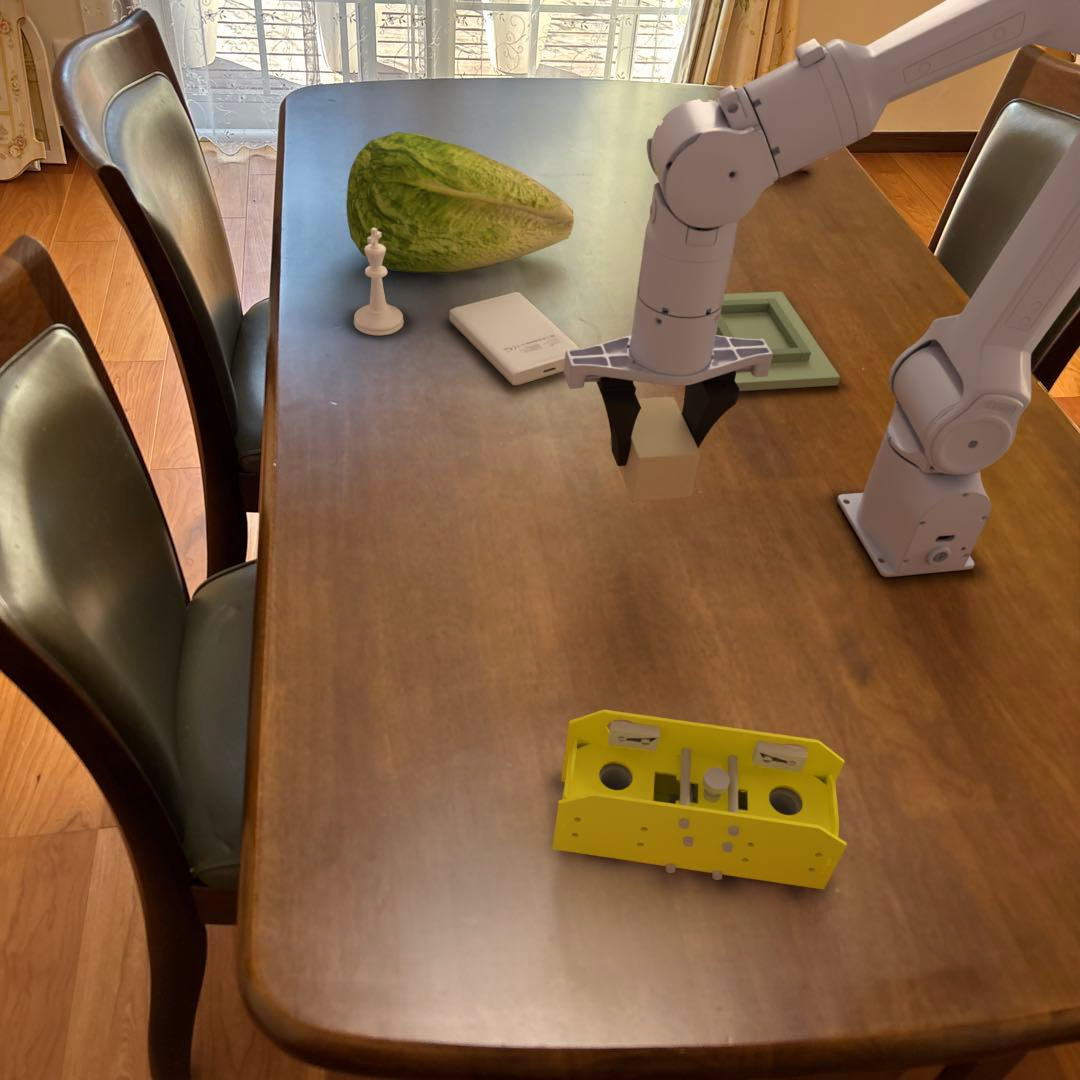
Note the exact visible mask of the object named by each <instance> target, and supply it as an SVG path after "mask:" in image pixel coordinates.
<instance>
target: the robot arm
mask: <svg viewBox="0 0 1080 1080" xmlns="http://www.w3.org/2000/svg"><path fill="white" fill-rule="evenodd" d="M1030 45H1031V46H1032V45H1035V46H1040V47H1044V48H1049V49H1051V50H1057V51H1061V52H1066V53H1070V54H1074V55H1079V56H1080V0H944V1H943V2H940V3H939V4H937V5H935V6H934V7H932V8H930V9H928V10H926V11H925V12H923V13H921V14H920V15H918V16H916V17H914V18H913V19H911V20H910V21H907V22H906V23H904V24H903V25H900V26H899V27H897V28H895V29H894V30H892V31H890V32H889V33H887V34H885V35H883V36H882V37H880V38H878V39H876V40H875V41H873V42H871V43H870V44H867V45H861V44H857V43H853V42H850V41H847V40H844V39H842V38H833V39H831V40H829V41H827V42H826V43H823V44H822V45H821V44H820V43H819V41H818V40H817V39H816V38H812V39H809V40H808V41H806V42H803V43H802V44H799V45H798V46H796V47H795V48H794V53H795V57H796V58H794V59H792V60H790V61H788V62H786V63H785V64H782V65H781V66H778V67H777V68H774V69H772V70H771V71H769V72H767V73H765V74H763V75H761V76H759V77H757V78H755V79H753V80H751V81H750V82H749V81H748V83H746V84H744V85H742V86H739V87H737V88H736V89H735V87H734V86H733V85H732V84H730V85H728V86H726V87H724V88H722V89H720V90H718V91H717V93H716V97H717V99H718V101H717V100H713V99H708V98H707V100H706V101H702V98H697V99H692V100H688V101H685V102H683V103H680V104H678V105H676V106H675V107H674V108H672V109H671V110H670V111H669V112H667V113H666V114H665V116H664V117H662V123H661V124H657V125H656V128H655V130H654V132H653V135H652V137H649V138H648V139H647V141H646V154H647V159H648V162H649V165H650V168H651V169H652V171H653V173H654V175H655V176H656V178H657V181H658V182H656V183H655V184H654V185H653V191H652V198H651V203H650V207H649V218H648V221H647V223H646V226H645V233H644V240H643V248H642V254H641V261H640V268H639V276H638V282H637V283H638V284H637V289H636V290H637V292H636V299H635V306H634V312H633V320H632V327H631V333H630V334H628V335H626V336H623V337H619V338H615V339H611V340H608V341H605V342H601V343H597V344H594V345H591V346H587V347H582V348H580V349H573V350H566V353H565V364H564V371H563V375H564V378H565V382H566V383H567V386H568V389H571V390H573V389H582V388H585V383H596V384H597V387H598V390H599V392H600V395H601V399H602V400H603V401H602V402H603V404H604V408H605V411H606V416H607V419H608V424H609V431H610V439H611V444H612V448H611V453H612V456H613V458H614V461H615V463H616V466H618V467H619V466H626V464H627V461H628V457H629V453H630V445H631V436H632V432H633V428H634V425H635V422H636V419H637V416H638V414H639V412H640V409H641V406H640V404H639V401H638V399H639V398H638V397H637V395H636V390H637V386H635V384H634V383H635V382H639V383H644V384H645V383H646V384H652V385H660V386H666V387H684V395H683V406H682V409H681V410H682V411H681V414H682V416H683V418H684V420H685V422H686V424H687V426H688V428H689V430H690V433H691V435H692V437H693V439H694V441H695V443H696V445H697V447H698V449H699V448H700V447H701V445H702V443H703V441H704V440H705V438H706V437H707V435H708V434H709V432H710V431H711V429H712V428H713V426H715V424H717V422H718V421H719V420H720V419H721V418H722V416H723V415H725V414H726V413H727V412H728V411H729V410H730V409H731V408H733V407H734V406H735V405H736V404H737V402H738V399H739V396H740V392H741V391H740V389H739V387H738V385H737V384H736V382H735V377H736V373H743V372H751V374H752V375H753V376H754V377H765V376H768V372H769V368H770V364H771V360H772V356H773V353H772V352H771V350H770V348H769V347H768V345H767V344H766V342H765V340H764V339H742V338H733V337H726V336H719V335H716V333H717V328H718V323H719V318H720V314H721V309H722V304H723V299H724V294H726V289H727V283H728V279H729V274H730V270H731V269H730V268H731V265H732V260H733V254H734V249H735V245H736V234H737V229H738V225H739V221H740V220H741V219H743V218H744V217H745V216H746V215H747V214H748V213H749V212H750V211H751V210H752V208H753V207H754V206H755V205H756V203H757V202H758V200H759V198H760V196H761V194H762V193H763V192H764V191H765V190H766V189H767V188H769V187H771V186H773V185H775V183H774V182H776V181H777V180H779V179H781V178H784V177H786V176H788V175H790V174H793V173H794V172H796V171H799V170H798V169H800V168H802V167H805V166H807V165H809V164H811V165H812V164H813V163H815V162H818V161H819V160H822V159H823V158H825V157H827V156H829V155H831V154H833V153H835V152H838V151H840V150H842V149H844V148H846V147H848V146H850V145H852V144H854V143H856V142H858V141H860V140H862V139H865V138H866V137H869V136H870V135H871V134H873V132H874V131H875V128H876V127H877V125H878V123H879V121H880V119H881V117H882V115H883V113H884V111H885V109H886V107H887V106H888V105H889V104H890V103H893V102H895V101H898V100H900V99H902V98H904V97H907V96H909V95H912V94H914V93H917V92H919V91H922V90H924V89H925V88H929V87H930V86H933V85H936V84H938V83H939V82H943V81H945V80H947V79H950V78H952V77H955V76H957V75H959V74H961V73H965V72H966V71H969V70H971V69H973V68H976V67H978V66H980V65H982V64H985V63H988V62H990V61H992V60H995V59H998V58H999V57H1002V56H1004V55H1007V54H1010V53H1011V52H1013V51H1016V50H1019V49H1021V48H1022V47H1026V46H1030ZM1079 288H1080V130H1079V131H1078V132H1077V134H1076V136H1075V137H1074V139H1073V140H1072V142H1071V144H1070V145H1069V146H1068V148H1067V150H1066V151H1065V152H1064V154H1063V155H1062V157H1061V159H1060V160H1059V162H1058V163H1057V165H1056V166H1055V168H1054V169H1053V170H1052V173H1051V174H1050V176H1049V177H1048V178H1047V181H1046V182H1045V184H1044V185H1043V186H1042V188H1041V190H1040V191H1039V193H1038V194H1037V196H1036V198H1035V199H1034V200H1033V202H1032V204H1031V205H1030V207H1029V208H1028V210H1027V211H1026V213H1025V214H1024V216H1023V217H1022V219H1021V220H1020V222H1019V223H1018V225H1017V227H1016V228H1015V230H1014V231H1013V233H1012V234H1011V236H1010V238H1009V239H1008V240H1007V242H1006V244H1005V245H1004V247H1003V248H1002V249H1001V251H1000V253H999V254H998V256H997V257H996V259H995V261H994V262H993V263H992V264H991V266H990V268H989V270H988V272H987V273H986V274H985V276H984V278H983V279H982V281H981V282H980V284H979V285H978V287H977V288H976V290H975V292H974V293H973V294H972V295H971V298H970V299H969V301H968V302H967V304H966V305H965V307H964V309H963V310H962V311H961V313H959V314H955V315H949V316H943V317H939V318H936V319H934V320H933V321H932V323H931V324H930V326H929V327H928V329H927V330H926V332H925V333H924V335H922V336H921V338H920V339H918V340H917V341H916V342H915V343H914V344H912V345H911V346H909V347H908V348H907V349H905V350H904V351H903V352H902V353H901V354H900V355H899V356H898V357H897V358H896V360H895V361H894V363H893V364H892V366H891V368H890V371H889V375H888V386H889V390H890V392H891V394H892V396H893V397H894V399H895V400H896V401H895V402H894V405H893V409H892V411H891V415H892V416H891V418H890V420H889V422H888V424H887V426H886V427H887V428H886V430H885V433H884V436H883V438H882V441H881V443H880V447H879V448H878V451H877V454H876V457H875V459H874V461H873V465H872V468H871V471H870V474H869V475H868V479H867V481H866V484H865V486H864V489H863V492H855V493H854V492H853V493H842V494H839V495H838V496H837V499H836V501H837V503H838V505H839V507H840V509H841V510H842V512H843V513H844V515H845V516H846V518H847V520H848V522H849V523H850V525H851V527H852V529H853V530H854V532H855V534H856V535H857V537H858V538H859V540H860V542H861V544H862V545H863V547H864V549H865V550H866V552H867V554H868V555H869V557H870V559H871V561H872V562H873V564H874V566H875V567H876V569H877V571H878V572H879V574H880V576H882V577H883V578H884V577H885V578H892V577H894V578H895V577H905V576H912V575H913V576H914V575H922V574H923V575H925V574H936V573H946V572H955V571H956V572H957V571H965V570H967V571H968V570H972V569H973V568H974V566H975V561H974V560H973V558H972V557H971V554H972V552H973V550H974V548H975V546H976V544H977V542H978V540H979V537H980V536H981V534H982V532H983V530H984V528H985V526H986V524H987V521H989V517H990V515H991V511H992V503H991V500H990V497H989V495H988V494H987V492H986V489H985V487H984V484H983V481H982V474H981V470H984V469H986V468H988V467H989V466H991V465H993V464H994V463H996V462H997V461H999V459H1001V458H1002V457H1003V456H1004V455H1005V454H1006V453H1007V451H1008V450H1009V449H1010V448H1011V446H1012V444H1013V443H1014V440H1015V437H1016V435H1017V434H1016V433H1017V427H1018V423H1019V420H1020V418H1021V416H1022V415H1023V413H1024V411H1025V410H1026V409H1027V408H1028V406H1029V405H1030V403H1031V402H1032V367H1031V366H1032V363H1031V362H1032V354H1033V352H1034V351H1035V349H1036V347H1037V346H1038V345H1039V343H1040V342H1041V341H1042V340H1043V338H1044V337H1045V335H1046V333H1048V331H1049V329H1050V328H1051V327H1052V326H1053V324H1054V322H1055V321H1056V320H1057V319H1058V317H1059V316H1060V314H1061V313H1062V312H1063V310H1064V309H1065V308H1066V306H1067V304H1069V302H1070V301H1071V299H1072V298H1073V296H1074V295H1075V294H1076V292H1077V291H1078V289H1079Z"/></svg>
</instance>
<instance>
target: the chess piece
mask: <svg viewBox="0 0 1080 1080" xmlns="http://www.w3.org/2000/svg"><path fill="white" fill-rule="evenodd" d="M380 237H382V233H381V232H379V231H377V228H374V227H373V228H372V229H371V236H370V237H368V238H367V242H368V243H371V244H368V245H367V246H366V247H365V248H364V251H365V254H366V256H367V257H366V259H367V261H368V264H369V265H368V266H366V267H365V271H364V274H365V275H366V276H367V277H369V278H371V279H370V283H371V284H370V294H369V295H370V296H369V303H368V304H366V305H364V306H361V307H360V308H358V309H357V310H356V311H355V313H354V316H353V317H354V318H353V325H354V327H355V329H357V331H359V332H361V333H363V334H366V335H370V336H387V335H391V334H394V333H396V332H398V331H399V330H401V329H402V328H403V326H404V323H405V320H404V315H403V312H402V311H401V310H400V309H399V308H397V307H396V306H394V305H391V304H388V303H387V301H386V296H385V290H384V285H383V284H384V283H383V278H384V277H386V276H387V275H388V270H387V269H388V268H386V267H384V266H382V262H383V258H384V255H385V252H386V248H385V247H384V246H383V245H382V244H378V239H379V238H380Z"/></svg>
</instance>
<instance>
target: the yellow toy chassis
mask: <svg viewBox="0 0 1080 1080" xmlns="http://www.w3.org/2000/svg"><path fill="white" fill-rule="evenodd" d="M621 720H622V721H621ZM624 720H625V721H624ZM609 724H610V726H609V727H610V728H609V727H608V725H609ZM565 743H566V744H565V751H564V757H563V764H562V772H561V779H560V782H562V783H564V788H563V791H562V792H563V793H562V799H559V800H558V802H557V803H558V804H557V811H556V819H555V826H554V833H553V840H552V841H553V842H552V847H551V849H552V850H555V851H562V852H569V853H574V854H575V853H577V854H582V855H589V856H595V857H603V858H609V859H615V860H623V861H629V862H637V863H643V864H649V865H656V866H664V867H665V871H666V872H667V873H669V874H674V873H676V869H683V870H688V871H689V870H691V871H697V872H702V873H703V872H704V873H709V874H712V876H711V877H712V879H713V880H715V881H720V880H722V879H723V876H731V877H737V878H744V879H751V880H756V881H757V880H758V881H764V882H771V883H779V884H785V885H792V886H798V887H805V888H811V889H818V890H825V889H826V887H827V885H828V883H829V880H830V879H831V877H832V875H833V874H834V871H835V870H836V867H837V865H838V864H839V861H840V859H841V858H842V856H843V854H844V852H845V850H846V848H847V846H848V845H847V844H848V843H847V841H845V840H843V839H842V838H840V837H839V836H840V834H839V832H840V817H839V805H838V796H837V786H836V782H837V780H838V778H839V776H840V774H841V771H842V770H843V767H844V765H845V759H843V757H841V756H839V755H838V753H836V752H835V751H833V749H831V748H829V746H827V745H825V744H824V743H823V742H822V741H820V740H819V739H814V738H807V737H799V736H793V735H787V734H779V733H772V732H765V731H758V730H751V729H743V728H737V727H730V726H722V725H715V724H709V723H701V722H694V721H688V720H680V719H674V718H668V717H667V718H665V717H659V716H652V715H645V714H637V713H631V712H625V711H624V712H623V711H617V710H609V709H600V710H598V711H595V712H591V713H589V714H587V715H582V716H580V717H576V718H573V719H570V720H568V729H567V735H566V741H565ZM789 744H793V745H789ZM795 745H798V746H795Z"/></svg>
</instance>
